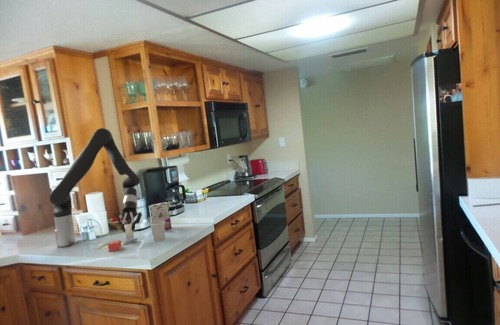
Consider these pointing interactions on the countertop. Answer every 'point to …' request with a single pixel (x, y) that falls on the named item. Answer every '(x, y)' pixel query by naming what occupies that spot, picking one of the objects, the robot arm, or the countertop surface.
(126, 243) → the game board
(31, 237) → the countertop surface
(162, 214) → the candy bar box
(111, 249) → the red die
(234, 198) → the countertop surface
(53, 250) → the countertop surface
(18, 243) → the countertop surface
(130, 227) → the pawn
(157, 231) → the dixie cup
